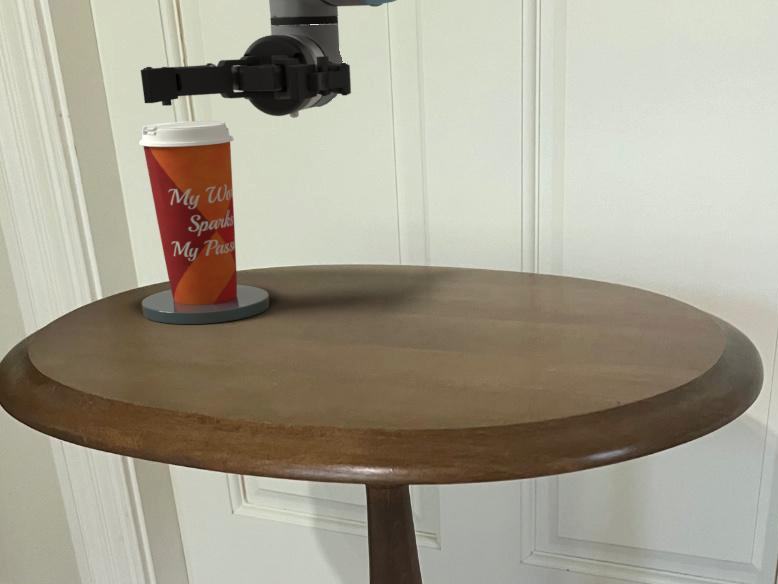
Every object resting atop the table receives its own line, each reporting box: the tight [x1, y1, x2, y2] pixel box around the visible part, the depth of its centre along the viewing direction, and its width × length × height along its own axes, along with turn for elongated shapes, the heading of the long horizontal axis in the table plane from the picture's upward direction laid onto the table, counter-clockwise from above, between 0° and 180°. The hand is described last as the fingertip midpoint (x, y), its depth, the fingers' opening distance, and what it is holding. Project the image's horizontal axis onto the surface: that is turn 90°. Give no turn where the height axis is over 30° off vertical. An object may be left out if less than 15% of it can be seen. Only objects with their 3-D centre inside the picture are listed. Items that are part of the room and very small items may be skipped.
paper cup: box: [138, 120, 238, 305], centre depth 92 cm, size 8×8×14 cm
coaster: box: [141, 284, 270, 325], centre depth 95 cm, size 11×11×1 cm
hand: (219, 85), depth 96 cm, fingers open, 13 cm apart
